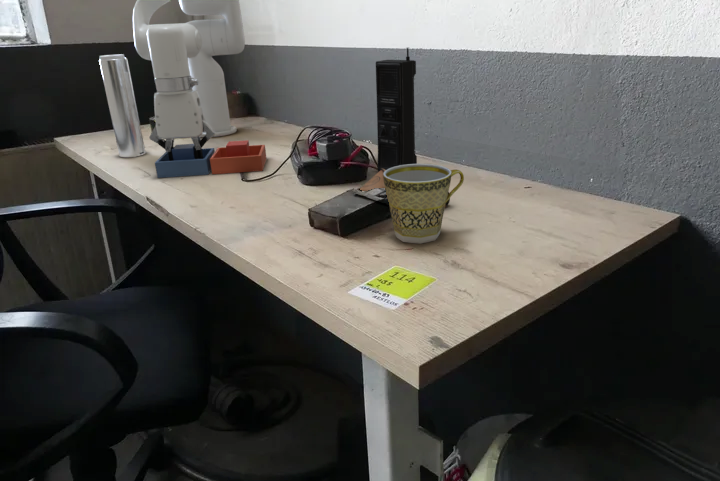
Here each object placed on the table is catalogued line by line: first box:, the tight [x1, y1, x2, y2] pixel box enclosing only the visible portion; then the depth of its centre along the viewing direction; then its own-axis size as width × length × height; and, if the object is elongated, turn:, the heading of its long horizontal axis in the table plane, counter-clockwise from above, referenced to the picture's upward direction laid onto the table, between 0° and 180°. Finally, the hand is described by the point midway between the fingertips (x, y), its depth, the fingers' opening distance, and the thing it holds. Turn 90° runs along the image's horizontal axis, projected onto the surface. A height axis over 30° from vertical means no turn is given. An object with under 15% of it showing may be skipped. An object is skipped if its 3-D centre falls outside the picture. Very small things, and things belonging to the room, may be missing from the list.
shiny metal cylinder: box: [98, 53, 146, 158], centre depth 144 cm, size 6×6×25 cm
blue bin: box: [154, 147, 216, 179], centre depth 131 cm, size 11×11×4 cm
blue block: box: [172, 143, 195, 161], centre depth 130 cm, size 5×5×5 cm
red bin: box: [210, 144, 267, 175], centre depth 132 cm, size 11×11×4 cm
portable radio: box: [375, 47, 418, 172], centre depth 117 cm, size 8×6×25 cm
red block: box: [225, 139, 250, 157], centre depth 131 cm, size 5×5×5 cm
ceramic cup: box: [383, 163, 465, 245], centre depth 86 cm, size 13×10×10 cm
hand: (187, 166), depth 131 cm, fingers closed on blue block, 4 cm apart
